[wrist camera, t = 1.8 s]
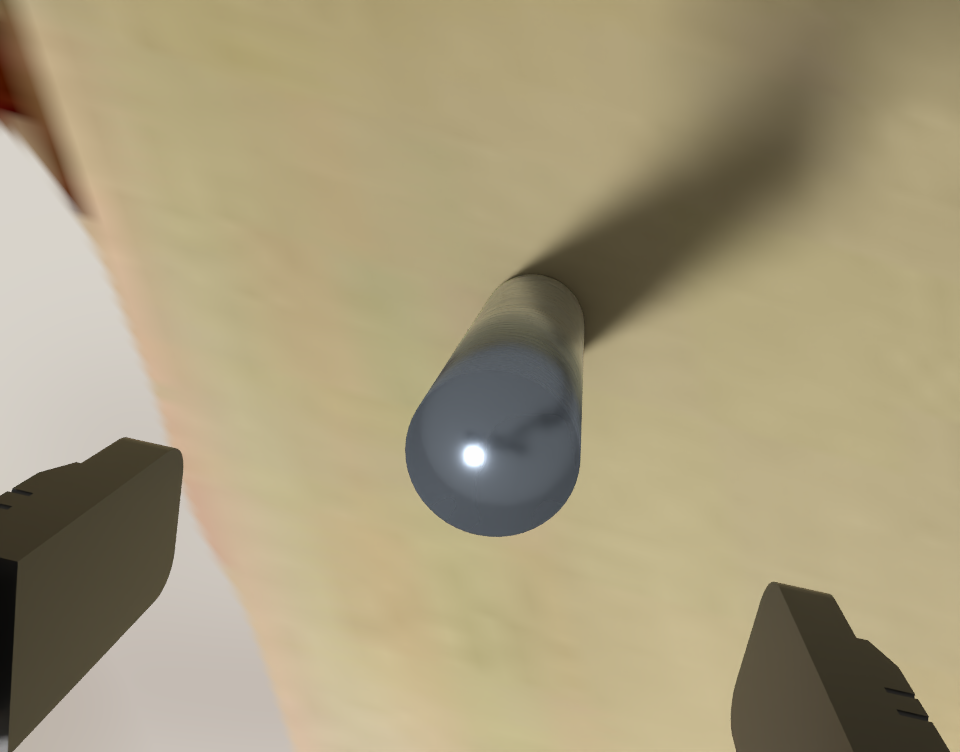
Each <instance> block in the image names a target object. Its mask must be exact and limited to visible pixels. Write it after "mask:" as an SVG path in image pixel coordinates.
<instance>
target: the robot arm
mask: <svg viewBox="0 0 960 752" xmlns="http://www.w3.org/2000/svg"><path fill="white" fill-rule="evenodd" d="M182 476H183V457H182V454H181V452H180V450H178V449H176V448H172V447H167V446H163V445H158V444H154V443H149V442H145V441H140V440H135V439H131V438H127V437H125V438H121V439H119V440H117V441H116V442H114V443H113V444H111V445H110V446H108V447H106V448H105V449H103V450H102V451H100V452H98V453H97V454H95V455H94V456H92V457H91V458H89V459H87V460H86V461H84V462H83V463H77V462H75V463H72V464H68V465H65V466H61V467H57V468H54V469H51V470H46V471H43V472H39V473H37V474H36V475H34V476H32V477H31V478H29V479H27V480H26V481H24V482H22V483H21V484H19V485H17V486H16V487H14V488H13V489H12V492H5V493H4V494H2V495H1V496H0V752H12V751H14V750H15V749H16V748H17V747H18V745H19V744H20V743H21V742H22V741H23V740H24V739H25V738H26V737H27V736H28V735H29V734H30V733H31V732H32V731H33V730H34V728H35V727H36V726H37V725H38V724H39V723H40V722H41V721H42V720H43V719H44V718H45V717H46V716H47V715H48V714H49V713H50V711H51V710H52V709H53V708H54V707H55V706H56V705H57V704H58V703H59V702H60V701H61V700H62V699H63V698H64V697H65V696H66V694H68V692H69V691H70V690H71V689H72V688H73V687H74V686H75V685H76V684H77V683H78V682H79V681H80V680H81V679H82V677H84V675H85V674H86V673H87V672H88V671H89V670H90V669H91V668H92V667H93V666H94V665H95V664H96V663H97V662H98V661H99V660H100V658H102V656H103V655H104V654H105V653H106V652H107V651H108V650H109V649H110V648H111V647H112V646H113V645H114V644H115V643H116V642H117V641H118V640H119V638H120V637H121V636H122V635H123V634H124V633H125V632H126V631H127V630H128V629H129V628H130V627H131V626H132V625H133V624H134V623H135V621H136V620H137V619H138V618H139V617H140V616H141V615H142V614H143V613H144V612H145V611H146V610H147V609H148V608H149V607H150V606H151V604H153V602H154V601H155V600H156V599H157V598H158V596H159V595H160V593H161V592H162V590H163V588H164V586H165V584H166V581H167V579H168V577H169V573H170V570H171V567H172V563H173V558H174V551H175V542H176V533H177V523H178V514H179V504H180V495H181V485H182ZM914 696H915V693H914V692H913V690H912V689H911V687H910V685H909V684H908V682H907V680H906V679H905V677H904V675H903V674H902V672H901V671H900V669H899V667H898V666H897V665H895V664H894V663H893V662H892V661H891V660H890V659H889V658H887V657H886V656H885V655H884V654H883V653H882V652H881V651H879V650H878V649H877V648H876V647H875V646H874V645H873V644H871V643H870V642H869V641H868V640H863V639H859V638H856V636H855V635H854V633H853V631H852V629H851V627H850V626H849V624H848V622H847V620H846V619H845V617H844V615H843V613H842V611H841V610H840V608H839V606H838V604H837V603H836V601H835V599H834V598H833V596H832V595H830V594H827V593H823V592H818V591H813V590H809V589H804V588H800V587H795V586H791V585H786V584H782V583H777V582H771V583H770V584H769V585H768V586H767V588H766V590H765V591H764V594H763V596H762V599H761V602H760V605H759V608H758V612H757V615H756V618H755V621H754V625H753V628H752V631H751V635H750V638H749V641H748V644H747V648H746V651H745V654H744V658H743V661H742V664H741V668H740V671H739V674H738V677H737V681H736V684H735V688H734V693H733V699H732V707H731V730H732V736H733V740H734V744H735V748H736V752H950V751H949V749H948V748H947V746H946V744H945V743H944V741H943V739H942V738H941V736H940V734H939V733H938V731H937V729H936V728H935V726H934V725H933V723H932V722H928V717H929V716H928V715H927V713H926V711H925V710H924V708H923V707H922V705H921V703H920V702H919V700H918V699H914Z"/></svg>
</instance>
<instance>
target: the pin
mask: <svg viewBox="0 0 960 752" xmlns="http://www.w3.org/2000/svg"><path fill="white" fill-rule="evenodd" d="M583 354H584V316H583V312H582V309H581V306H580V304H579V302H578V300H577V299H576V297H575V296H574V294H573V293H572V292H571V291H570V290H569V289H568V288H567V287H566V286H565V285H563V284H562V283H561V282H559V281H557V280H555V279H553V278H550V277H547V276H543V275H536V274H529V275H522V276H518V277H515V278H512V279H510V280H508V281H506V282H505V283H503V284H502V285H501V286H499V287H498V288H497V289H496V290H495V291H494V292H493V293H492V295H491V296H490V298H489V299H488V301H487V302H486V304H485V305H484V307H483V308H482V310H481V311H480V313H479V314H478V316H477V318H476V319H475V321H474V322H473V324H472V325H471V327H470V328H469V330H468V331H467V333H466V334H465V336H464V338H463V339H462V341H461V342H460V344H459V345H458V347H457V348H456V350H455V351H454V353H453V354H452V356H451V358H450V359H449V361H448V362H447V364H446V365H445V367H444V368H443V370H442V371H441V373H440V375H439V376H438V378H437V379H436V381H435V382H434V384H433V385H432V387H431V388H430V390H429V391H428V393H427V395H426V396H425V398H424V399H423V401H422V402H421V404H420V405H419V407H418V408H417V410H416V412H415V414H414V416H413V418H412V420H411V423H410V426H409V428H408V433H407V437H406V447H405V453H406V463H407V468H408V472H409V475H410V478H411V481H412V483H413V485H414V487H415V489H416V491H417V493H418V494H419V496H420V497H421V499H422V500H423V502H424V503H425V504H426V505H427V506H428V507H429V509H430V510H432V511H433V512H434V513H435V514H436V515H437V516H438V517H440V518H441V519H442V520H444V521H445V522H447V523H448V524H450V525H452V526H454V527H456V528H458V529H461V530H463V531H466V532H469V533H472V534H476V535H482V536H489V537H502V536H511V535H516V534H520V533H524V532H526V531H529V530H531V529H534V528H536V527H538V526H539V525H541V524H543V523H544V522H546V521H547V520H549V519H550V518H551V517H552V516H554V515H555V514H556V513H557V512H558V511H559V510H560V509H561V507H562V506H563V505H564V504H565V502H566V501H567V499H568V498H569V496H570V494H571V493H572V491H573V488H574V486H575V484H576V481H577V477H578V473H579V467H580V453H581V420H582V387H583Z"/></svg>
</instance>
